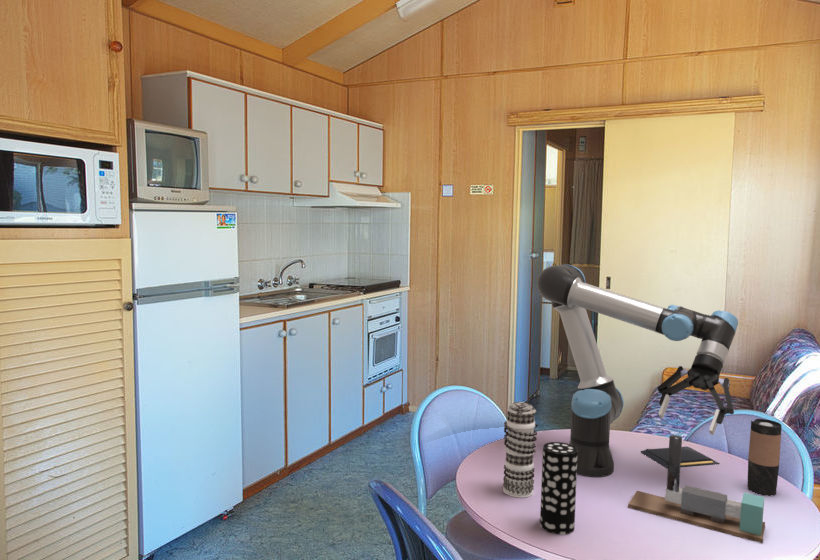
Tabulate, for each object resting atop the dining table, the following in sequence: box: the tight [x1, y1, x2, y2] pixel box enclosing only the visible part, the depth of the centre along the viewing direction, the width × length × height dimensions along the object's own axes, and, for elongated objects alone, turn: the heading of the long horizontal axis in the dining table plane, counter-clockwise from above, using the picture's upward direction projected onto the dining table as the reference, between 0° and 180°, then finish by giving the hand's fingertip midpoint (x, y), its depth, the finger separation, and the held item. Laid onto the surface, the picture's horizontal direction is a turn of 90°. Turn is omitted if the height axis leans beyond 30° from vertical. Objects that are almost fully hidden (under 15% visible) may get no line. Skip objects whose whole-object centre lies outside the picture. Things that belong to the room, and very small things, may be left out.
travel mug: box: [747, 418, 783, 497], centre depth 169 cm, size 8×8×20 cm
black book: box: [640, 446, 720, 470], centre depth 194 cm, size 20×2×15 cm
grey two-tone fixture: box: [664, 434, 742, 519], centre depth 151 cm, size 20×3×17 cm, turn 56°
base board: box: [627, 490, 766, 544], centre depth 153 cm, size 31×10×1 cm, turn 56°
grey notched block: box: [681, 484, 728, 524], centre depth 152 cm, size 10×5×6 cm, turn 56°
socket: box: [740, 492, 765, 536], centre depth 146 cm, size 4×7×7 cm, turn 146°
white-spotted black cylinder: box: [539, 441, 578, 535], centre depth 146 cm, size 8×8×20 cm
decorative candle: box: [502, 401, 538, 499], centre depth 166 cm, size 9×9×25 cm
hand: (684, 424), depth 164 cm, fingers open, 13 cm apart
